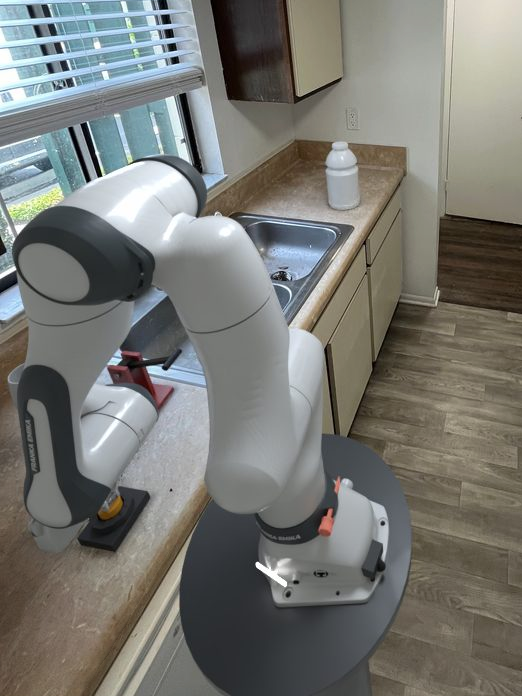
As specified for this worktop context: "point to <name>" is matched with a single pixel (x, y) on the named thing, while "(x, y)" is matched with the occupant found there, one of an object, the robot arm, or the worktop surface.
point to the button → (111, 510)
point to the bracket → (139, 378)
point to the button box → (115, 522)
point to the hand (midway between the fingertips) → (110, 502)
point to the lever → (151, 361)
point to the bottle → (342, 177)
